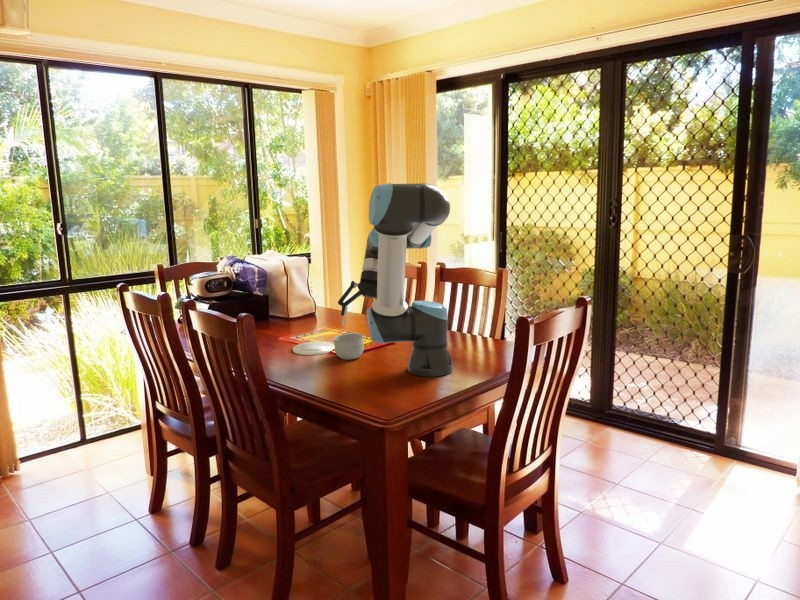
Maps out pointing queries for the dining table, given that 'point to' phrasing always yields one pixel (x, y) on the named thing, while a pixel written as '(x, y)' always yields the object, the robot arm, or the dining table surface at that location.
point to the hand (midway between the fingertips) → (361, 328)
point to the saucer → (313, 348)
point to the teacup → (349, 345)
